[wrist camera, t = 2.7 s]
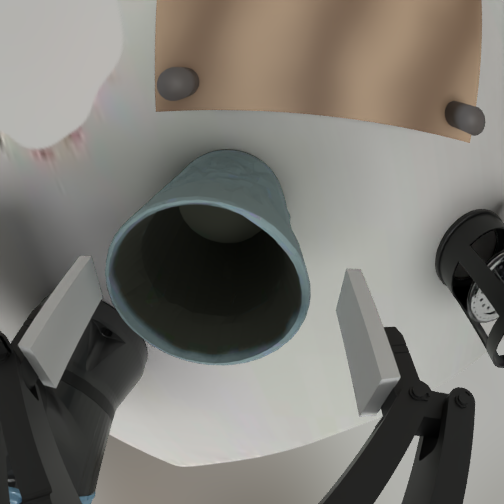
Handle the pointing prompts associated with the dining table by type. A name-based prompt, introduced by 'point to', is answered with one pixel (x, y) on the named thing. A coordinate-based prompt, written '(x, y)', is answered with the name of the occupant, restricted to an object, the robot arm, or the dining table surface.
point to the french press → (476, 275)
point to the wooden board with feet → (325, 60)
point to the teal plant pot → (212, 264)
